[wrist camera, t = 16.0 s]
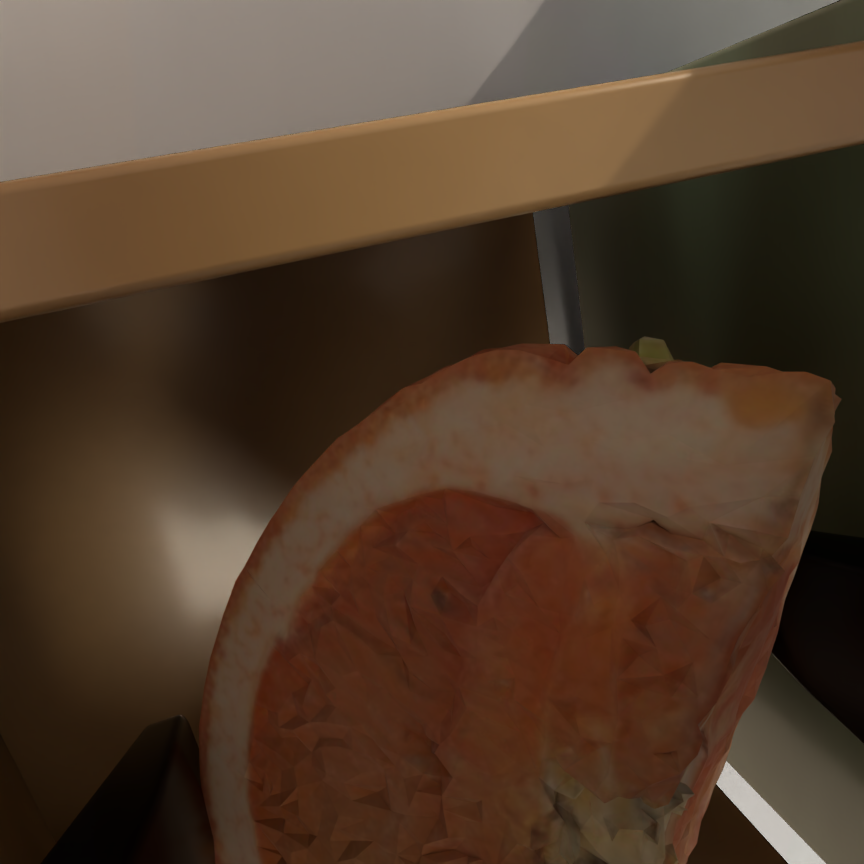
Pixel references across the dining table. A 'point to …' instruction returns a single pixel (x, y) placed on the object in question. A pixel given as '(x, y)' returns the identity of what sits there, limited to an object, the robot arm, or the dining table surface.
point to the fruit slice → (514, 614)
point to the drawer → (393, 366)
